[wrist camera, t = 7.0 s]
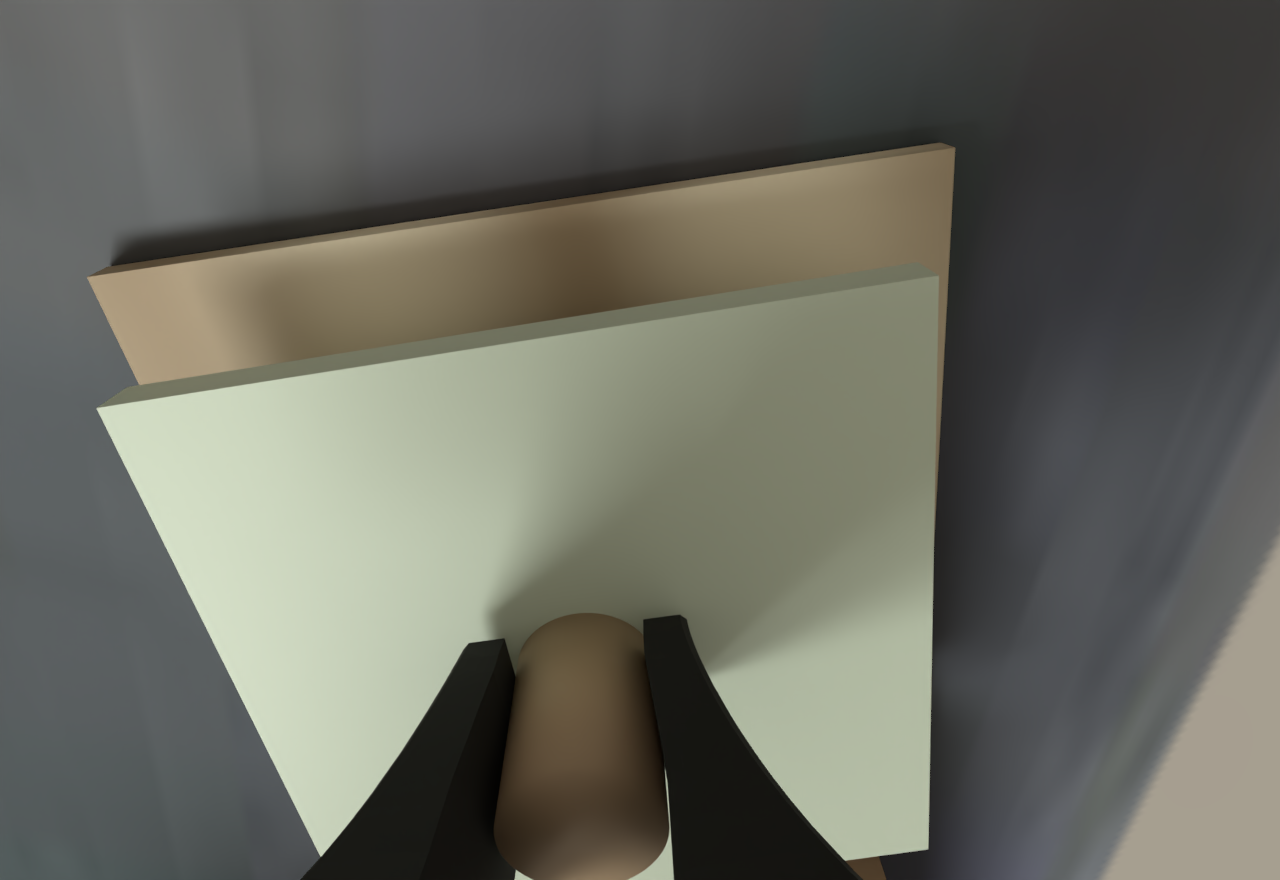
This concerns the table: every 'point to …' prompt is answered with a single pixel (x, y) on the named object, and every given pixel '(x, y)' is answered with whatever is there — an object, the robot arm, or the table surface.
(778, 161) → the table surface
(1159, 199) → the table surface
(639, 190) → the board
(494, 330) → the lid
